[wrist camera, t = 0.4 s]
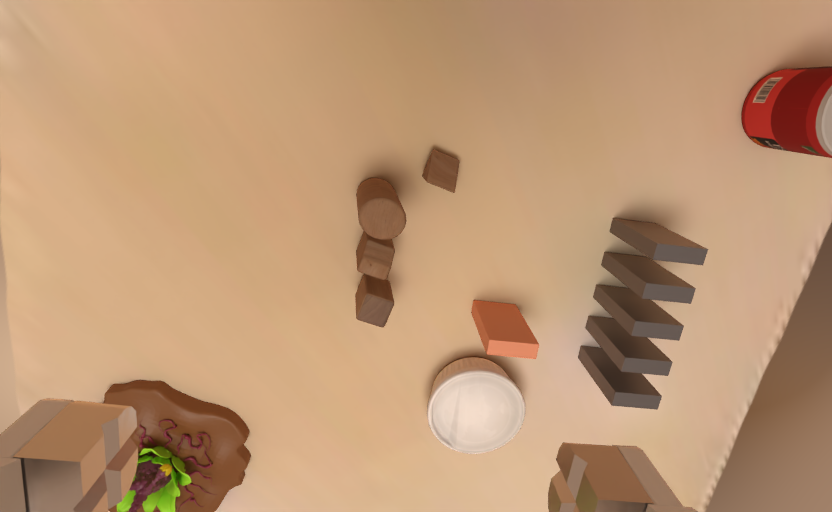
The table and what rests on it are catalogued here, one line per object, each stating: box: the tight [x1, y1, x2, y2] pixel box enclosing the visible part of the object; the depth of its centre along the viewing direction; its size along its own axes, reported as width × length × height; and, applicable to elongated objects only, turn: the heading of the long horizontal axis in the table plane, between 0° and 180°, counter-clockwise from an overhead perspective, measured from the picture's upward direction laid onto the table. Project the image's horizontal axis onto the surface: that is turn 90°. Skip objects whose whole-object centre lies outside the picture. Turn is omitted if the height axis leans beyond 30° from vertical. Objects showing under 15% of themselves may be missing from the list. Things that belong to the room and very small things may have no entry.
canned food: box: [742, 66, 832, 158], centre depth 49 cm, size 8×8×11 cm
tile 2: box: [601, 252, 696, 304], centre depth 54 cm, size 2×5×10 cm, turn 83°
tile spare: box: [471, 300, 539, 359], centre depth 55 cm, size 2×5×10 cm, turn 82°
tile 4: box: [586, 316, 672, 376], centre depth 57 cm, size 2×5×10 cm, turn 83°
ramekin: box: [427, 357, 525, 454], centre depth 61 cm, size 11×11×5 cm
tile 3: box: [593, 285, 684, 340], centre depth 55 cm, size 2×5×10 cm, turn 83°
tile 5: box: [578, 346, 662, 409], centre depth 58 cm, size 2×5×10 cm, turn 83°
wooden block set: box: [355, 149, 459, 327], centre depth 51 cm, size 18×9×10 cm, turn 157°
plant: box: [104, 380, 251, 512], centre depth 59 cm, size 20×20×11 cm
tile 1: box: [610, 218, 708, 265], centre depth 53 cm, size 2×5×10 cm, turn 83°
